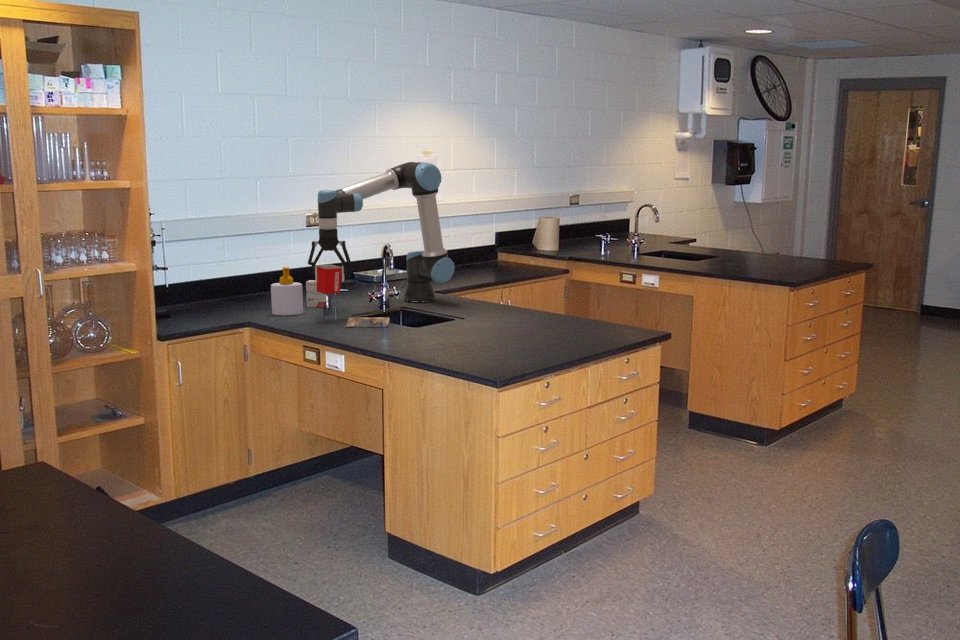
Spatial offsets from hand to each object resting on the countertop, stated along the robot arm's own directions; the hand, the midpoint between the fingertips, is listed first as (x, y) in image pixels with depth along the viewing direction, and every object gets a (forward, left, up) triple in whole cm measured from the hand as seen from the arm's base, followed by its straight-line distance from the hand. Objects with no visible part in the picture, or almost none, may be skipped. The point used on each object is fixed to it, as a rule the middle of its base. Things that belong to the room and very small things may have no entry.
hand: (329, 281), depth 390 cm
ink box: (+9, -30, -17) cm, 35 cm away
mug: (-1, 0, -5) cm, 5 cm away
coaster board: (-16, +7, -16) cm, 24 cm away
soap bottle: (+20, -14, -17) cm, 30 cm away
